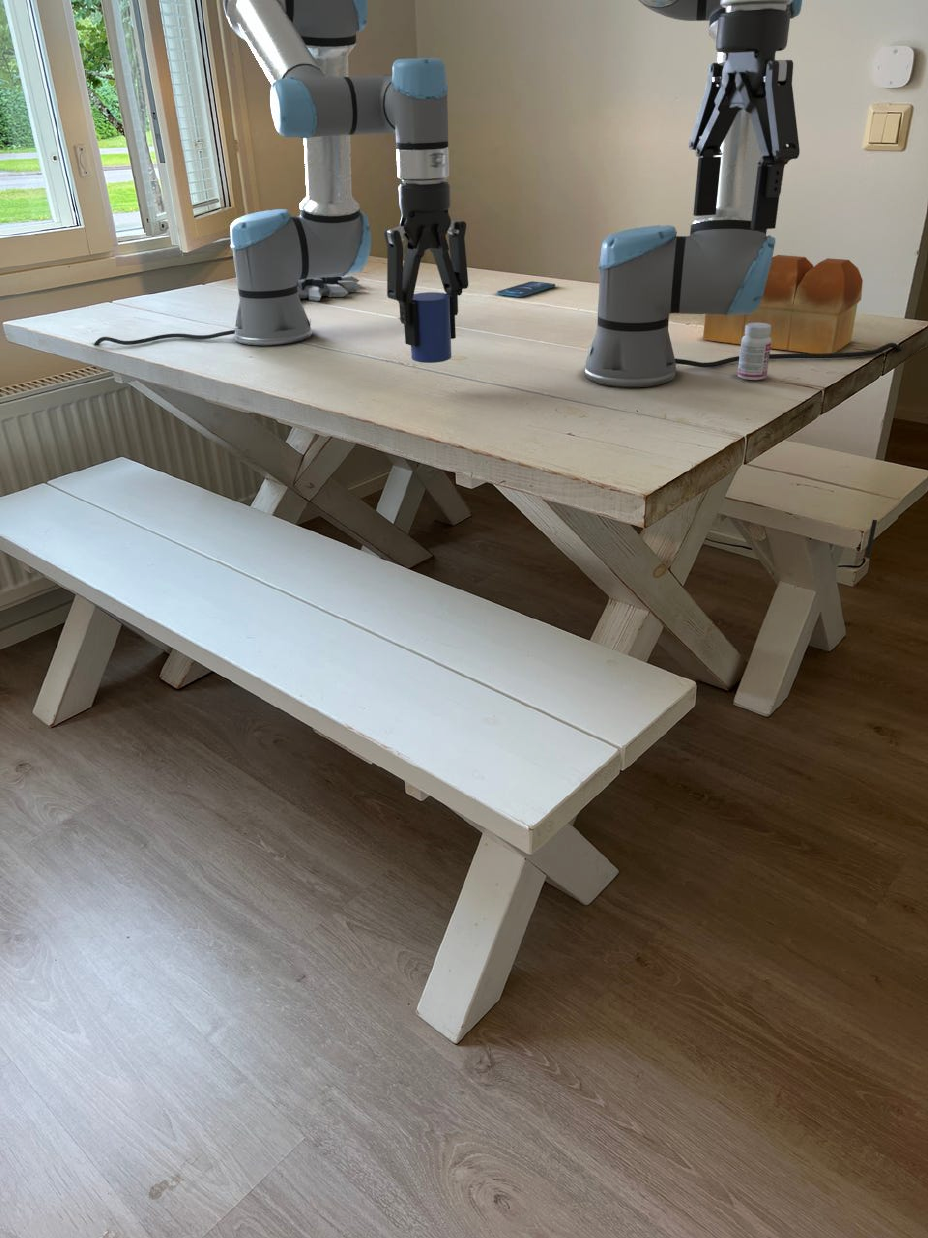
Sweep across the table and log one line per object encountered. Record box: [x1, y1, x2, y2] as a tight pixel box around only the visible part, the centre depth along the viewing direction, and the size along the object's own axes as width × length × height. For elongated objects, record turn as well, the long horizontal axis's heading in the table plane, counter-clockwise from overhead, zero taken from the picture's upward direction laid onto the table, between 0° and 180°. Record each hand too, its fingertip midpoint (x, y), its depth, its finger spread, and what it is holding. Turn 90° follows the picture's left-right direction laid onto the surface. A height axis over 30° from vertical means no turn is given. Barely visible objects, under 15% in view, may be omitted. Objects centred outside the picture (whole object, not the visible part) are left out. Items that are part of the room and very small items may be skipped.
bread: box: [702, 254, 864, 354], centre depth 174 cm, size 25×12×15 cm, turn 54°
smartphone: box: [496, 281, 556, 298], centre depth 225 cm, size 8×1×15 cm
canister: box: [410, 291, 452, 364], centre depth 148 cm, size 6×6×9 cm
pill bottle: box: [737, 323, 772, 381], centre depth 155 cm, size 5×5×8 cm
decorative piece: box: [297, 275, 363, 302], centre depth 230 cm, size 30×4×30 cm
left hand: (430, 340), depth 149 cm, fingers closed on canister, 6 cm apart
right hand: (732, 221), depth 112 cm, fingers open, 13 cm apart
